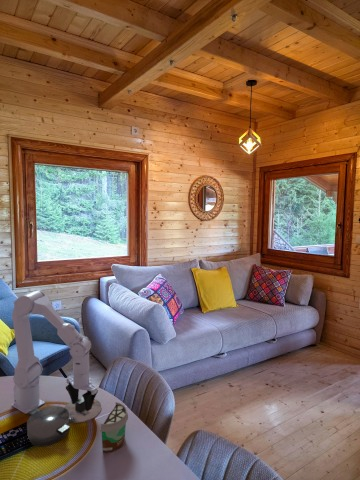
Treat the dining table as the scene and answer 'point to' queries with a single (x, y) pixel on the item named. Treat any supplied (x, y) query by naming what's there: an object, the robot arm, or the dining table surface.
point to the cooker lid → (82, 411)
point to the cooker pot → (47, 425)
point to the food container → (114, 429)
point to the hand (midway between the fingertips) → (81, 406)
